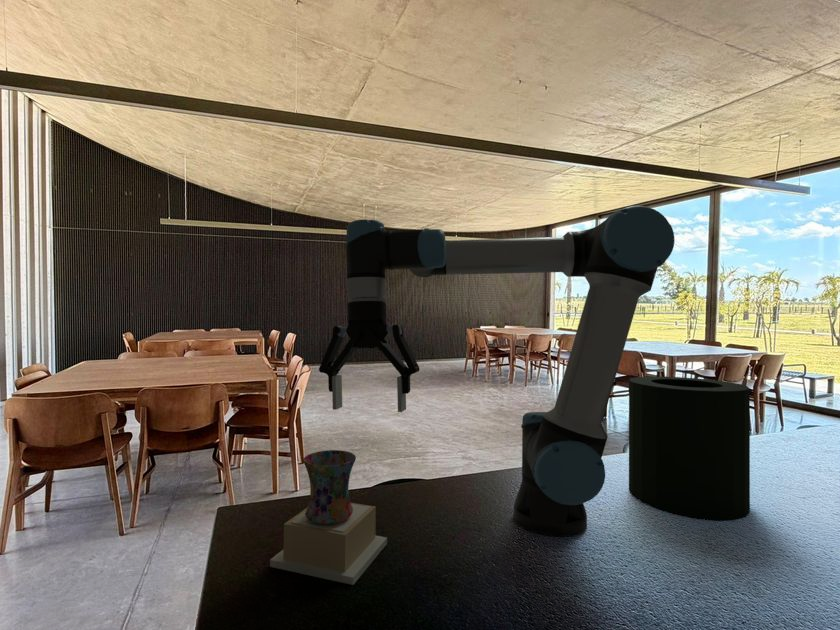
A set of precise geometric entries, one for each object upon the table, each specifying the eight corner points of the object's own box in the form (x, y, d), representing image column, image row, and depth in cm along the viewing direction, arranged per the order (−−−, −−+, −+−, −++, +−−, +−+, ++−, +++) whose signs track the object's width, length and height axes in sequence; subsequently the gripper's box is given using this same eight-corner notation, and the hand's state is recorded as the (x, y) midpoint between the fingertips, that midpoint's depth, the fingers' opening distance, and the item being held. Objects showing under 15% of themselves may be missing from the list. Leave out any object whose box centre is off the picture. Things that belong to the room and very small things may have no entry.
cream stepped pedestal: (387, 543, 85) (387, 505, 85) (353, 585, 71) (353, 539, 72) (314, 530, 90) (314, 494, 90) (270, 566, 77) (270, 523, 77)
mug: (357, 526, 76) (357, 464, 76) (301, 531, 74) (302, 467, 74) (352, 498, 88) (353, 444, 88) (304, 502, 86) (304, 447, 86)
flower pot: (632, 509, 101) (632, 386, 102) (626, 474, 125) (626, 374, 125) (766, 529, 92) (766, 394, 92) (732, 487, 115) (732, 379, 115)
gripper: (433, 299, 87) (435, 407, 86) (319, 303, 94) (321, 403, 94) (422, 297, 80) (425, 415, 79) (300, 302, 87) (302, 411, 86)
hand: (369, 409), depth 86 cm, fingers open, 13 cm apart
